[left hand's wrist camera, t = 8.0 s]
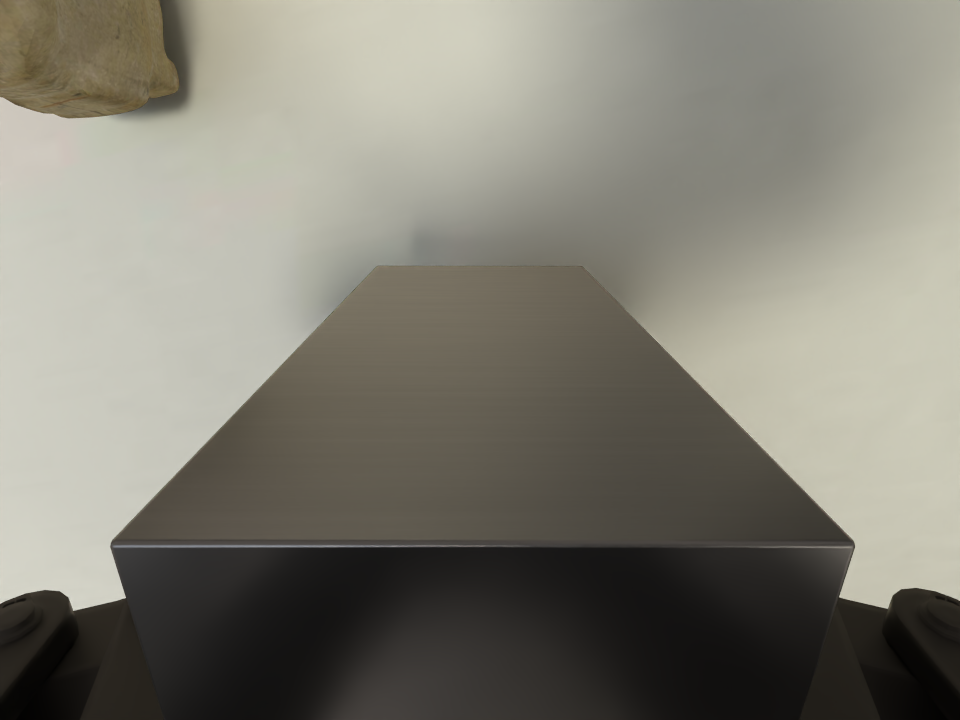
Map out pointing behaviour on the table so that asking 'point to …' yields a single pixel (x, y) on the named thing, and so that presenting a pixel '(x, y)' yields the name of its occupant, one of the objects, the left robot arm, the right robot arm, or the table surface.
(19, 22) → the sculpture
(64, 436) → the table surface
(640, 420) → the box
